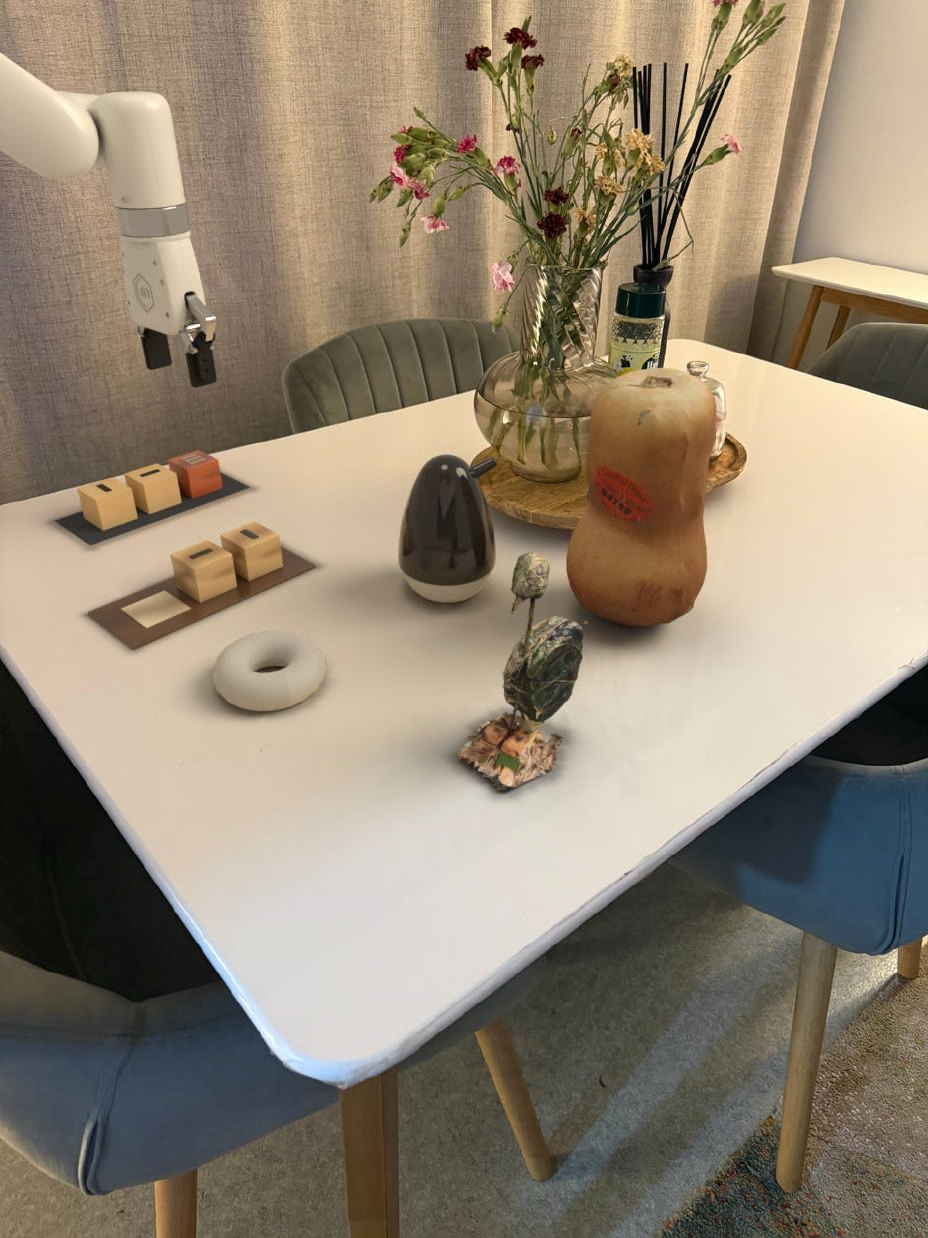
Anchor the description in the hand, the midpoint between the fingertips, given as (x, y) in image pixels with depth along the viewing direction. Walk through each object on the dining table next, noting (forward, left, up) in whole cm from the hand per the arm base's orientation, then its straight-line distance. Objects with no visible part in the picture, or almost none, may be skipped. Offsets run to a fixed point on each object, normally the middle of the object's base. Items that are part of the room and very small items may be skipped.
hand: (181, 375), depth 107 cm
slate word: (+1, -7, -15) cm, 17 cm away
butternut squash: (+58, +13, -15) cm, 61 cm away
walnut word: (+23, -14, -15) cm, 30 cm away
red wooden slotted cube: (+1, -1, -14) cm, 14 cm away
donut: (+41, -19, -15) cm, 47 cm away
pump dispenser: (+41, +4, -15) cm, 44 cm away
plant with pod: (+63, -10, -15) cm, 65 cm away
